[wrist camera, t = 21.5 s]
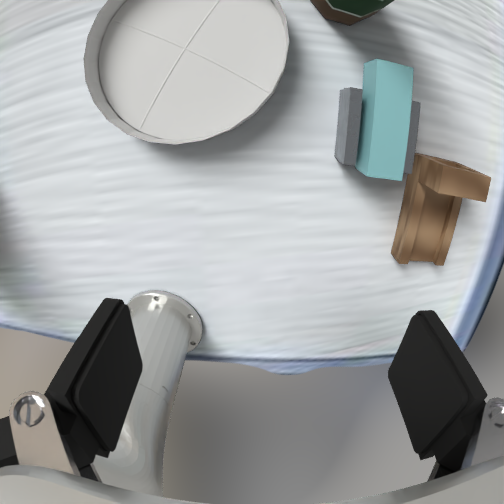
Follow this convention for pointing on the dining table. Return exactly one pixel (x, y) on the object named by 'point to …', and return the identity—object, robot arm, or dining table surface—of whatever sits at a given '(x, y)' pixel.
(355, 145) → the cradle block
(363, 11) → the beer bottle
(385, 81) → the teal block
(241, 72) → the dish
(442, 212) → the brown wooden bracket
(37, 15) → the dining table surface
